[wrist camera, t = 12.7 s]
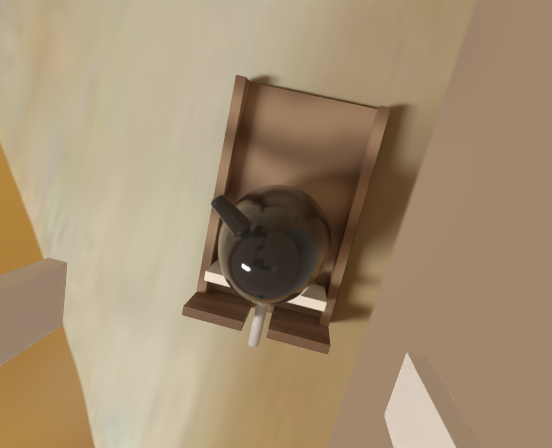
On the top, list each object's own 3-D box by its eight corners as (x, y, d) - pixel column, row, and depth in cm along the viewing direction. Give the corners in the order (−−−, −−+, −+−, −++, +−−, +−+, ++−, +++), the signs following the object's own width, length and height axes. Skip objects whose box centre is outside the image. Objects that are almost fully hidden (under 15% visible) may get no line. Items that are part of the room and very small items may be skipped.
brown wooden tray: (241, 82, 32) (226, 62, 26) (384, 112, 31) (402, 99, 25) (202, 291, 36) (182, 314, 31) (324, 323, 35) (327, 354, 30)
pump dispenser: (292, 163, 32) (281, 146, 17) (346, 245, 33) (380, 298, 18) (215, 216, 34) (143, 243, 18) (268, 293, 34) (238, 379, 19)
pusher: (217, 259, 34) (205, 271, 30) (324, 286, 33) (326, 302, 30) (205, 322, 36) (192, 341, 32) (307, 349, 35) (307, 372, 31)
